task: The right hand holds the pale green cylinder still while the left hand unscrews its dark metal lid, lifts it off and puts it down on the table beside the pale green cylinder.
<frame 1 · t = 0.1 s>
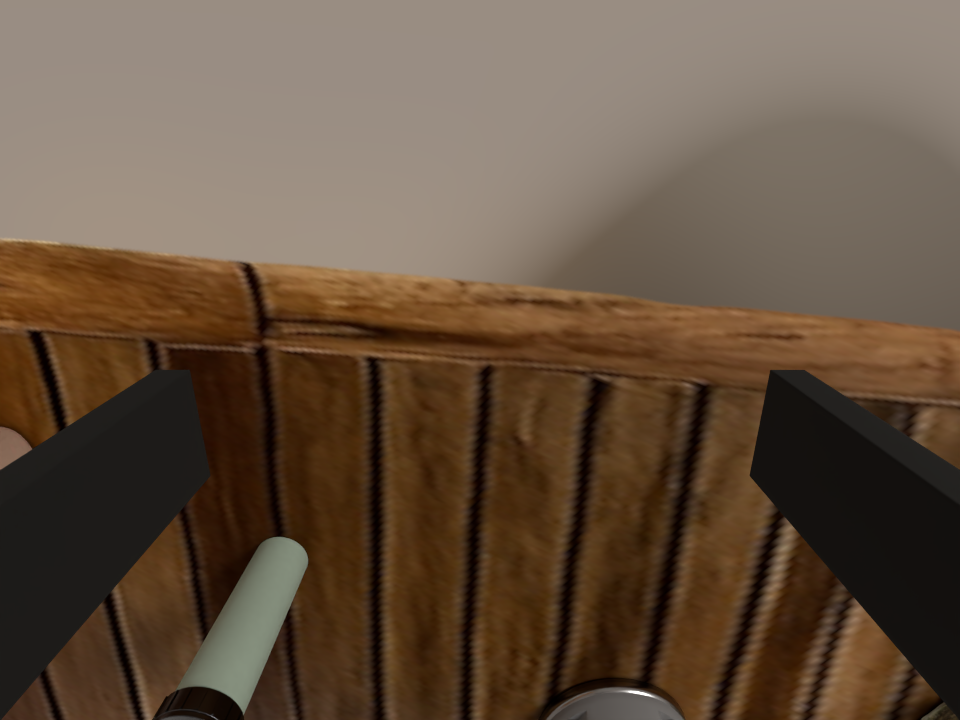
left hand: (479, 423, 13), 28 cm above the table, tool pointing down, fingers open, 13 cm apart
pale green cylinder: (282, 558, 48), on the table
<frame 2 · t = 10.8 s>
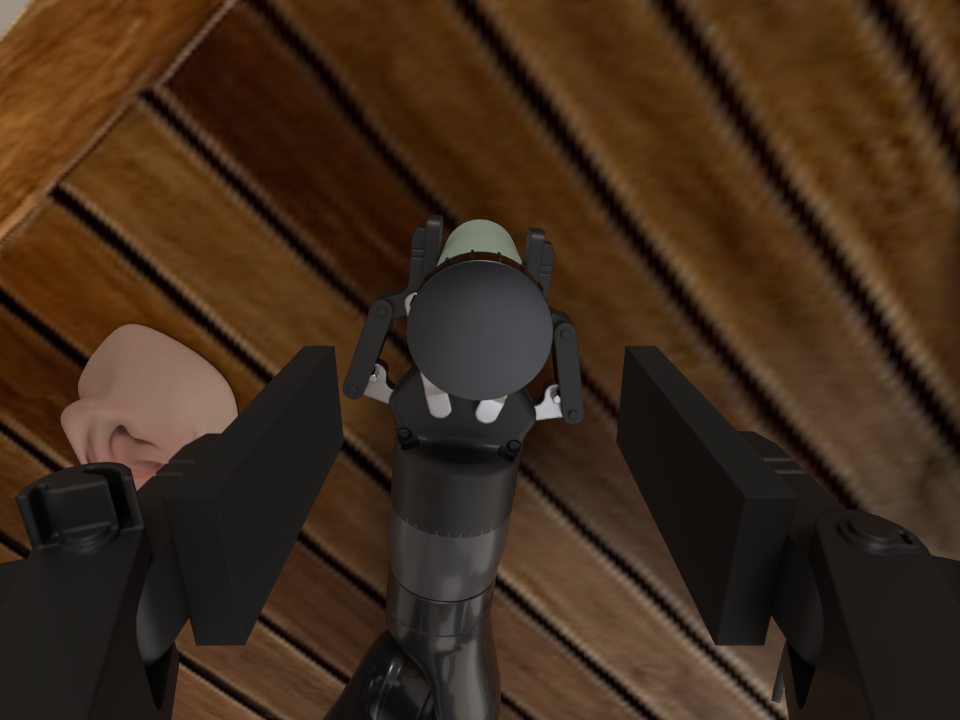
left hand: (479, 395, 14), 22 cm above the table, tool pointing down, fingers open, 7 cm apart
right hand: (485, 224, 28), fingers closed on pale green cylinder, 4 cm apart
pale green cylinder: (479, 256, 35), on the table, touching right hand
anatomical model: (164, 418, 39), on the table
lid: (480, 330, 19), point 16 cm above the table, screwed on, not yet turned
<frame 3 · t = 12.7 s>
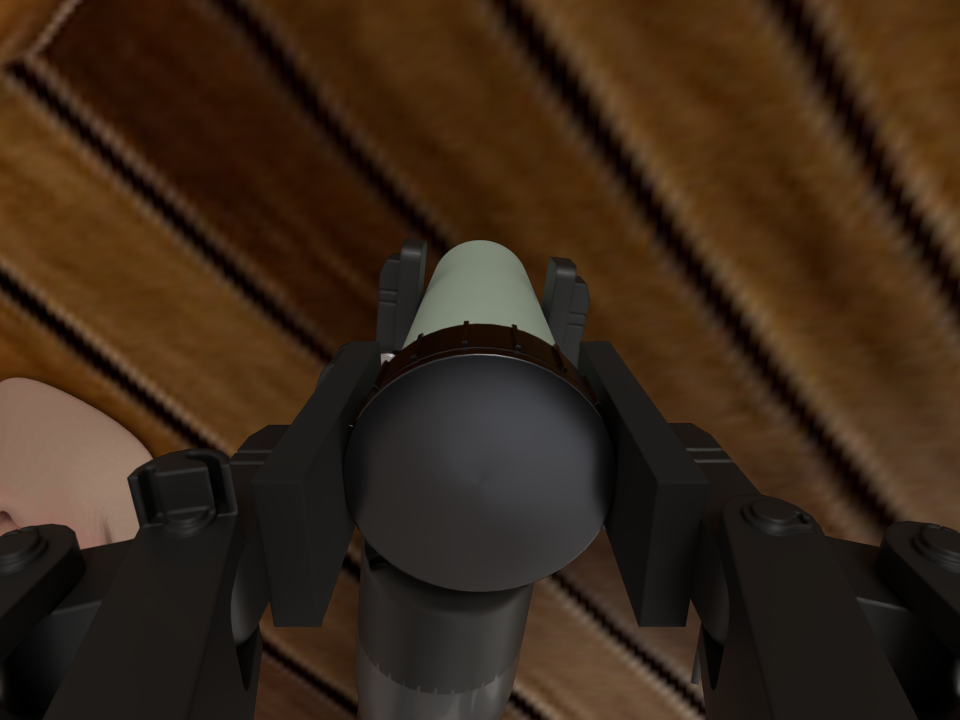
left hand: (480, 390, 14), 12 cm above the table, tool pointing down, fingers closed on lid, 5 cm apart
pale green cylinder: (479, 289, 26), on the table, touching right hand
anatomical model: (70, 495, 30), on the table
lid: (479, 473, 11), point 16 cm above the table, screwed on, not yet turned, touching left hand
when the left hand's fingers open (12 cm above the table, at t = 13.8 s): lid stays where it is, point 16 cm above the table.
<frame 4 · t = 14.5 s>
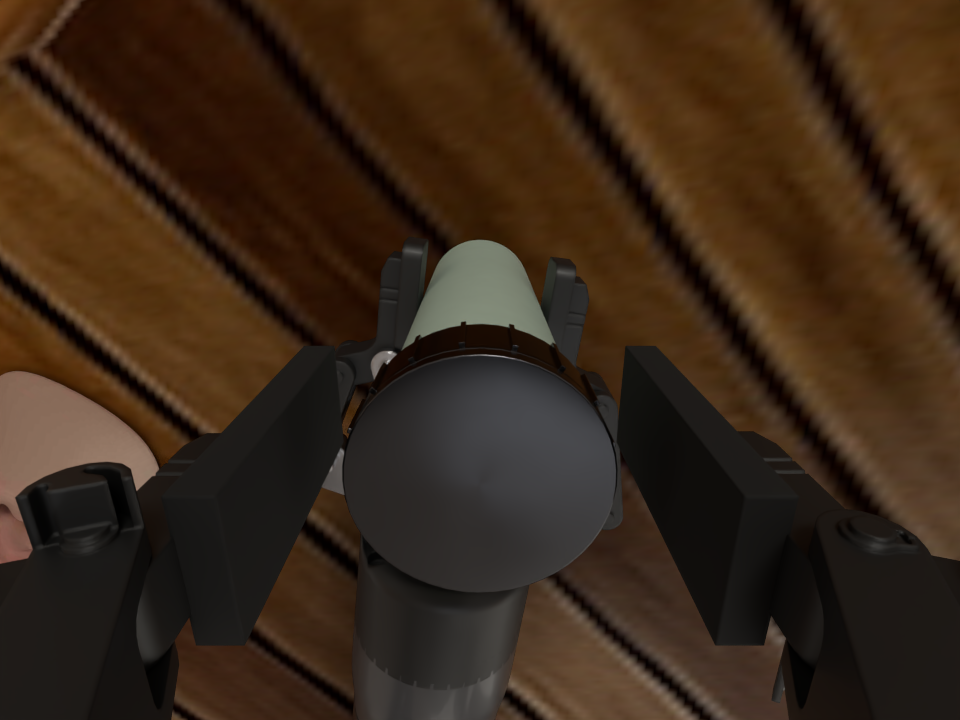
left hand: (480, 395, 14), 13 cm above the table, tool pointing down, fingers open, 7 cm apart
pale green cylinder: (479, 288, 26), on the table, touching right hand
anatomical model: (68, 489, 30), on the table
lid: (479, 474, 11), point 16 cm above the table, turned 65° so far, risen 0.2 cm, still on its thread
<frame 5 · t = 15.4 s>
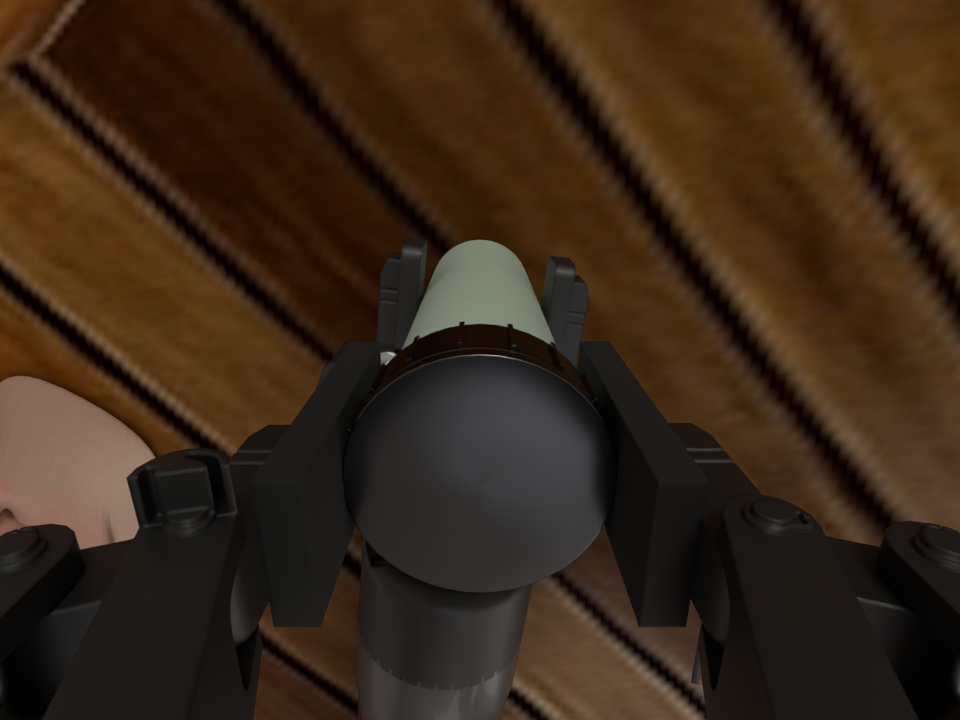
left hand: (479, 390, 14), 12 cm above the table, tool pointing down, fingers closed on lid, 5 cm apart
pale green cylinder: (479, 288, 26), on the table, touching right hand
anatomical model: (72, 493, 30), on the table
lid: (479, 474, 11), point 16 cm above the table, turned 65° so far, risen 0.2 cm, still on its thread, touching left hand
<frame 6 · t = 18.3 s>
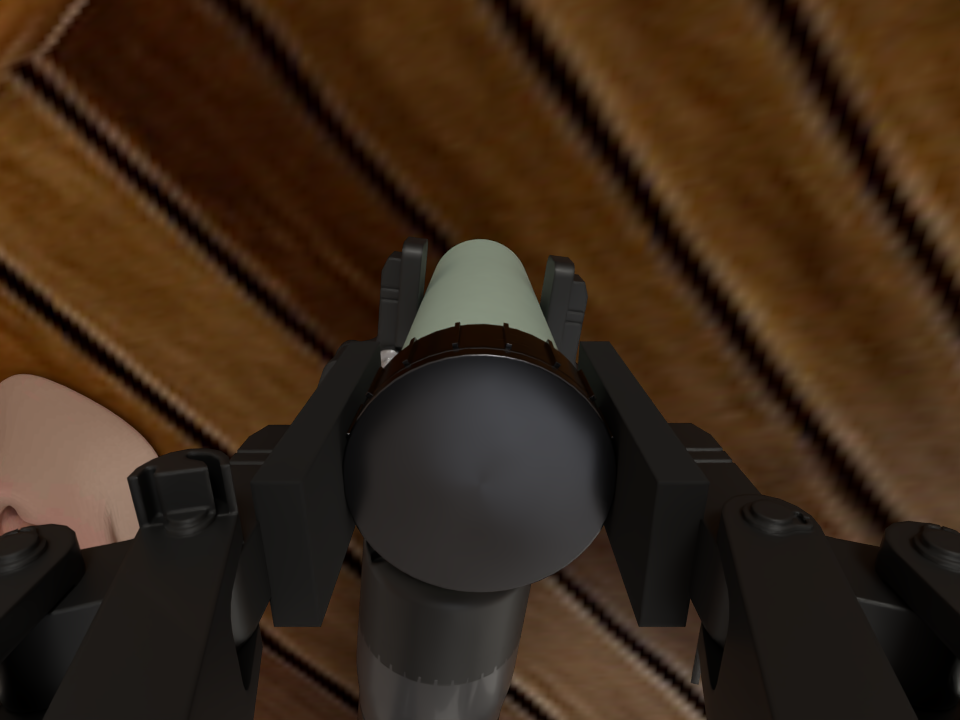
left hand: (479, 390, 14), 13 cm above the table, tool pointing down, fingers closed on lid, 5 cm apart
pale green cylinder: (479, 287, 26), on the table, touching right hand
anatomical model: (74, 490, 30), on the table
lid: (479, 474, 11), point 17 cm above the table, turned 131° so far, risen 0.4 cm, still on its thread, touching left hand
when the left hand's fingers open (0 cm above the table, at t = 24.9 s): lid drops 2 cm, point 2 cm above the table.
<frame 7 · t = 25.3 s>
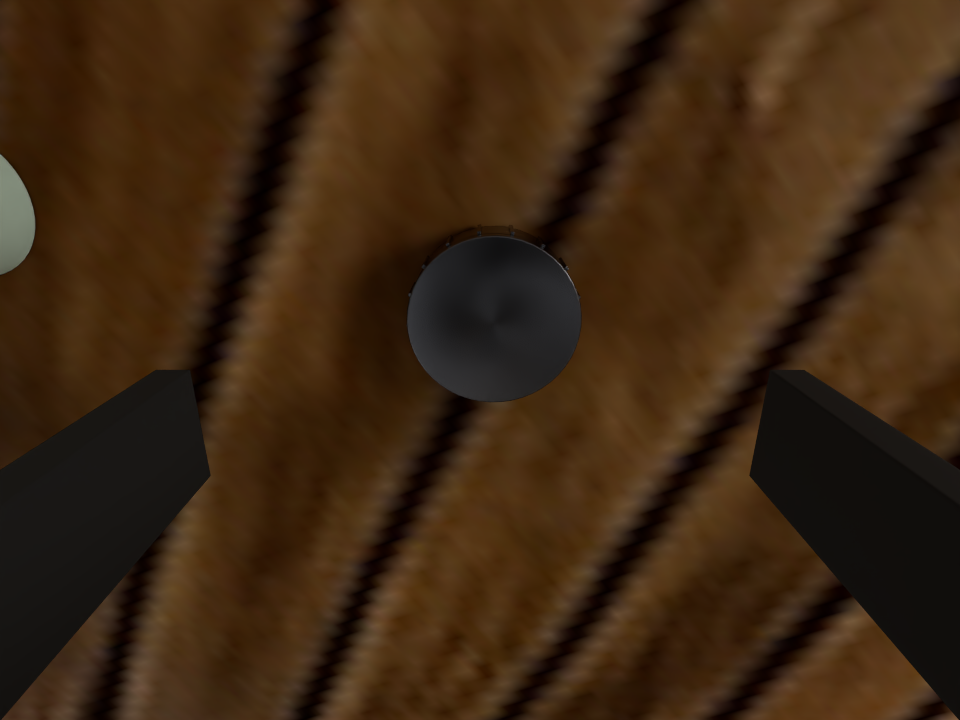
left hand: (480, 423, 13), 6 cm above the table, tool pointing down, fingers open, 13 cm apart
lid: (493, 320, 16), point 2 cm above the table, off its thread
when the right hand's fingers open (6 cm above the table, at t = 25.5 s): pale green cylinder stays where it is, on the table.
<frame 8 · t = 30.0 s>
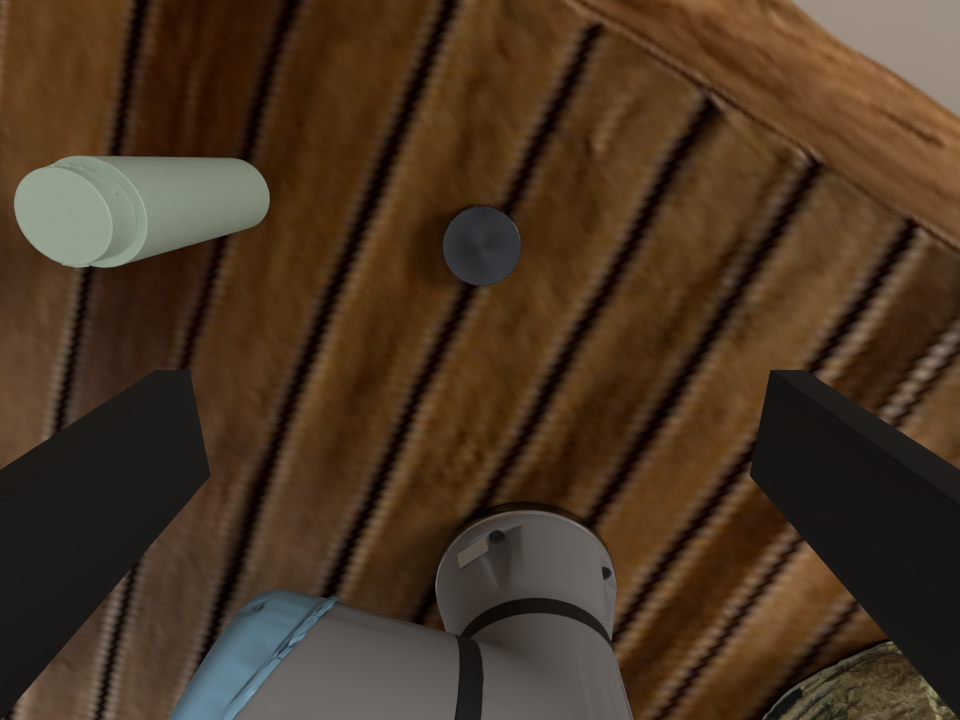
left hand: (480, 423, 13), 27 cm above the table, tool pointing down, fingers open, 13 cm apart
fossil: (838, 687, 52), on the table
pale green cylinder: (235, 194, 37), on the table
lid: (481, 246, 36), point 2 cm above the table, off its thread
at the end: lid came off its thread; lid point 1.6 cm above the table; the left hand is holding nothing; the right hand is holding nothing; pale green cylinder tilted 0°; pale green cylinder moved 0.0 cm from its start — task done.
